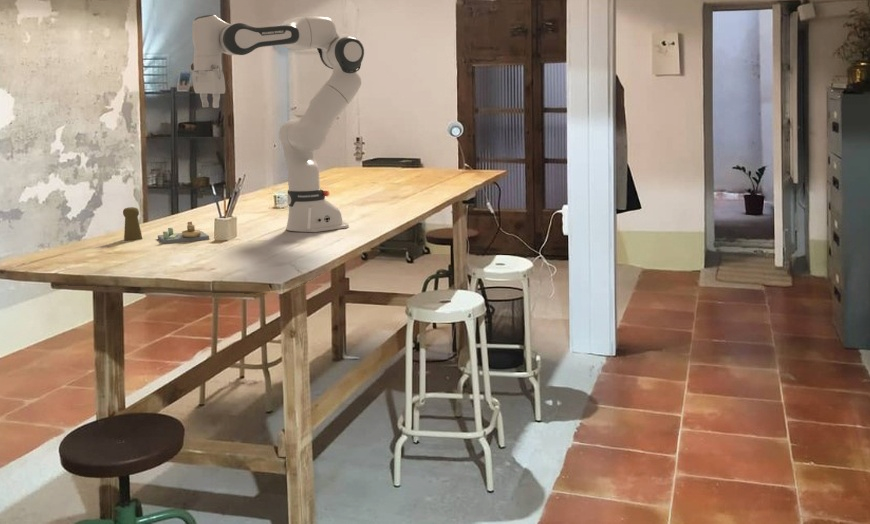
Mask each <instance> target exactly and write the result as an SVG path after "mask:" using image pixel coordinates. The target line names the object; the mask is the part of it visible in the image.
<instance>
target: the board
mask: <svg viewBox="0 0 870 524" xmlns="http://www.w3.org/2000/svg"><path fill="white" fill-rule="evenodd" d="M200 234H201V235H200V236H197V237H182V232H179V233H174V227H168V228H167V230H165V231H162V234H159V235H157V240H159V241H160V242H162V243H163V244H164V245H167V244H175V243H176V244H177V243H186V242H196V241H204V240H205V241H206V240H210V235H209V234H207V233H205V232H204V231H202V230H200Z"/></svg>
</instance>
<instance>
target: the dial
mask: <svg viewBox="0 0 870 524" xmlns="http://www.w3.org/2000/svg"><path fill="white" fill-rule="evenodd" d="M200 231H201V230H199V229H196V227H195V225H194V224H193V222H192V221H187V225H186V230H182V231H181V233H182V237H197V236H200V235H201V234H200Z"/></svg>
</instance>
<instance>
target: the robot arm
mask: <svg viewBox="0 0 870 524" xmlns="http://www.w3.org/2000/svg"><path fill="white" fill-rule="evenodd" d="M191 27H192V31H191V33H192V45H193V47H194V51H193V52H194V53H193V61H192V62H191V64H190V65H189V66H190V67H189V68H190V71H191V73H192V74H191V79H192V85H193V86H192V87H193V91H194V93H195V94H199V97H200V100H201V105H202V108H209V107H210V106H209V104H210V102H209V101H208V94H210V95H211V94H212V103H211V104H212V105H211V106H212V108H214V109H218V108H219V107H220V100H221V94H225V93H226V81H225V75H224V71H222V70H223V67H222V66H223V65H222V54H226V55H227V56H237V55H238V56H245V55H248V54H250V53H252V52H253V51H254V50H257V49H258V48H263V47H264V48H265V47H272V46H274V47H275V46H283V47H285V48H287V49H288V50H297V51H298V50H299V51H300V50H301V51H303V50H310V49H311V50H312V49H317V52H318V54H319V58H320V61H321V62H322V64H323V65H324V66H325V67H326V68H329V69H331V70H332V73H331V76H330V77H329V79H328V80H327V81H326V82H325V83H324V84H323V85H322V86H321V88H320V89H319V90H318V91H317V93H316V94H314V96H313V97H312V98H311V99H310V101H309V106H308V107H307V109H306V110H305V112H304V113H303V116H301V117H300V118H292V119H289V120H287V121H285V122H284V123H283V124H282V125H281V126H280V128H279V130H278V136H279V140H280V142H281V145H282V149H283V155H284V158H285V163H286V168H287V169H286V170H287V181H288V182H287V183H288V190H287V196H286V197H287V206H288V214H287V222H286V226H285V227H286V228H285V230H287V231H290V232H302V233H304V232H305V233H307V232H308V233H319V232H326V231H333V230H339V229H347V228H349V227H350V225H349V223H348V222H346V221H343V216H342V212H341V211H340V209H339V208H338V207H336V206H335V205H334V204H332V203H331V202H330V201H329V200H327V199H325V198H326V197H329V196H330V192H329V190H324V189H321V186H320V184H321V183H320V167H319V165H318V162H317V160H316V157H315V153H314V152H316V151H317V150H318V151H319V150H320V149H321V148H322V147H323V146H324V144H325V142H326V139H327V136H328V133H329V131H330V130H331V128H332V127H333V125H334V123H335V121H336V120H337V119H338V118H339V117H340V115H341V114H342V113H343V112H344V111H345V109H346V108H347V107H348V106H349V104H350V103H351V102H352V100H353V99H354V98H355V96H356V95H357V94H358V92H359V90H360V88H361V85H362V79H361V76H360V74H359V73H358V71H360V69H361V68H362V67H361V65H362V62H363V59H364V55H365V49H364V48H365V47H364V46H363V43H362V42H361V41H360V40H358V39H357V38H355V37H353V36H340V35H338V32H337V27H336V25H335V22H334V21H333V20H332V19H331V18H329V17H325V16H320V15H318V16H315V15H314V16H313V15H311V16H309V15H308V16H299V17H292V18H289V19H286V20H284V21H283V22H282V23H280V24H279V25H271V26H260V27H259V26H257V27H255V26H252V25H248V24H246V23H241V22H238V23H234V24H231V23H228V22H226V21H224V20H222V19H221V18H219V17H218V16H217V15H215V14H207V15H202V16H198V17H196V18H195V19H194V20H193V22H192V26H191Z"/></svg>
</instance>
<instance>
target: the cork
mask: <svg viewBox="0 0 870 524" xmlns="http://www.w3.org/2000/svg"><path fill="white" fill-rule="evenodd" d="M139 215H140V212H139V209H138V208H137V207H133V206H130V207H125V208H124V209H123V211H122V216H124V234H123V235H124V236H123V240H124V241H126V242H127V241H128V242H129V241H130V242H131V241H132V242H133V241H141V240H143V235H142V230H141V226H140V221H139V218H138V217H139Z"/></svg>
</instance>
